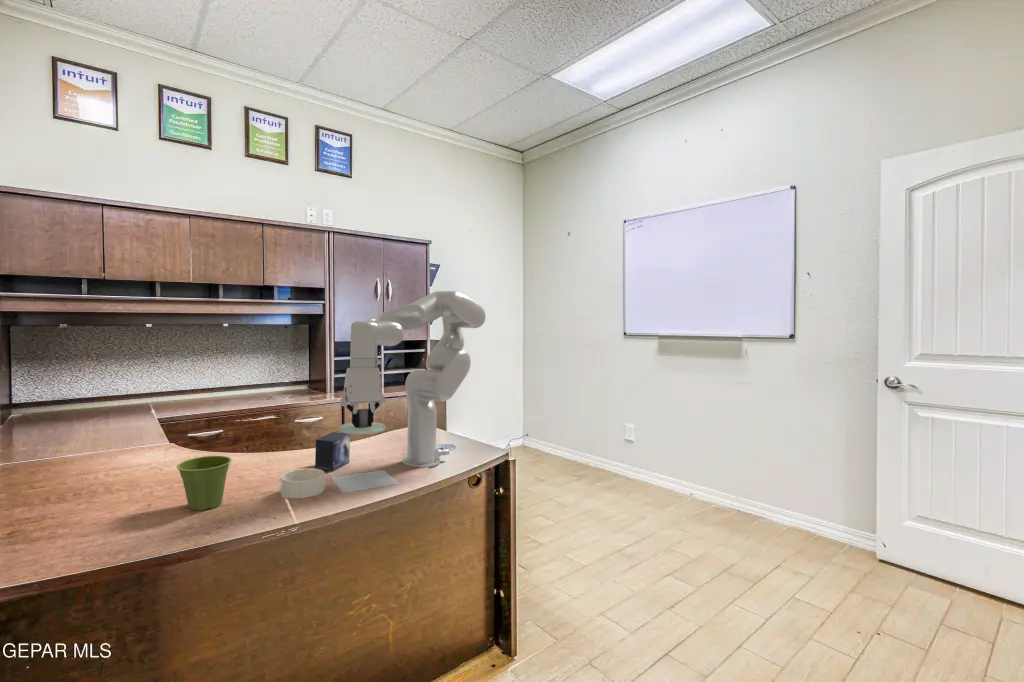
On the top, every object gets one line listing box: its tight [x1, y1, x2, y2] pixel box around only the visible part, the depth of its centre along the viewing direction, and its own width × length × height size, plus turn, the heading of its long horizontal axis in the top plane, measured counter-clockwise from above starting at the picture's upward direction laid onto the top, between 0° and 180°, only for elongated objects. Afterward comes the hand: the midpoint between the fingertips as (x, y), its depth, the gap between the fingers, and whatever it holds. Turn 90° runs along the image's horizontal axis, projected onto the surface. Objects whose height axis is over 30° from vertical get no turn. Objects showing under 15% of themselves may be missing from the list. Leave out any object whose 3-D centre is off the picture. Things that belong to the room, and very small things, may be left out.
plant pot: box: [176, 455, 233, 512], centre depth 124 cm, size 12×12×11 cm
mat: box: [330, 469, 399, 494], centre depth 144 cm, size 16×14×1 cm
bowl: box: [280, 467, 326, 500], centre depth 135 cm, size 11×11×5 cm
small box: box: [314, 431, 351, 473], centre depth 157 cm, size 11×6×10 cm, turn 168°
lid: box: [338, 408, 386, 435], centre depth 143 cm, size 13×13×6 cm
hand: (362, 425), depth 143 cm, fingers closed on lid, 3 cm apart
